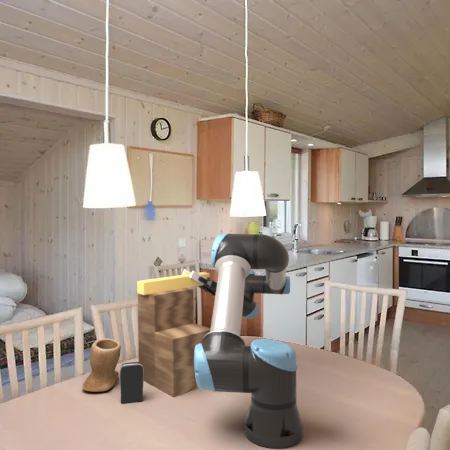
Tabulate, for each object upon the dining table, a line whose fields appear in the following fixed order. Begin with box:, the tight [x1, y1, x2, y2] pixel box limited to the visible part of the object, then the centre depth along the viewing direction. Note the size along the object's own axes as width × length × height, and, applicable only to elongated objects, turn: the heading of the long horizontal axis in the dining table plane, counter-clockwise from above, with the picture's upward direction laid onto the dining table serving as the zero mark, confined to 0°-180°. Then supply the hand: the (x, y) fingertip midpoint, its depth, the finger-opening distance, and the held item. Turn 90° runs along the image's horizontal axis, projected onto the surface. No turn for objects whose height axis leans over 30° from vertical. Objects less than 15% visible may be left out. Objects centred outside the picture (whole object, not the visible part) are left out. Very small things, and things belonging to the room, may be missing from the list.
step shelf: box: [137, 287, 211, 398], centre depth 146 cm, size 16×20×30 cm
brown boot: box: [81, 337, 122, 393], centre depth 143 cm, size 15×12×15 cm
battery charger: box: [119, 361, 144, 404], centre depth 132 cm, size 7×4×11 cm, turn 103°
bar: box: [136, 271, 211, 295], centre depth 152 cm, size 28×4×4 cm, turn 133°
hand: (187, 273), depth 155 cm, fingers closed on bar, 4 cm apart
